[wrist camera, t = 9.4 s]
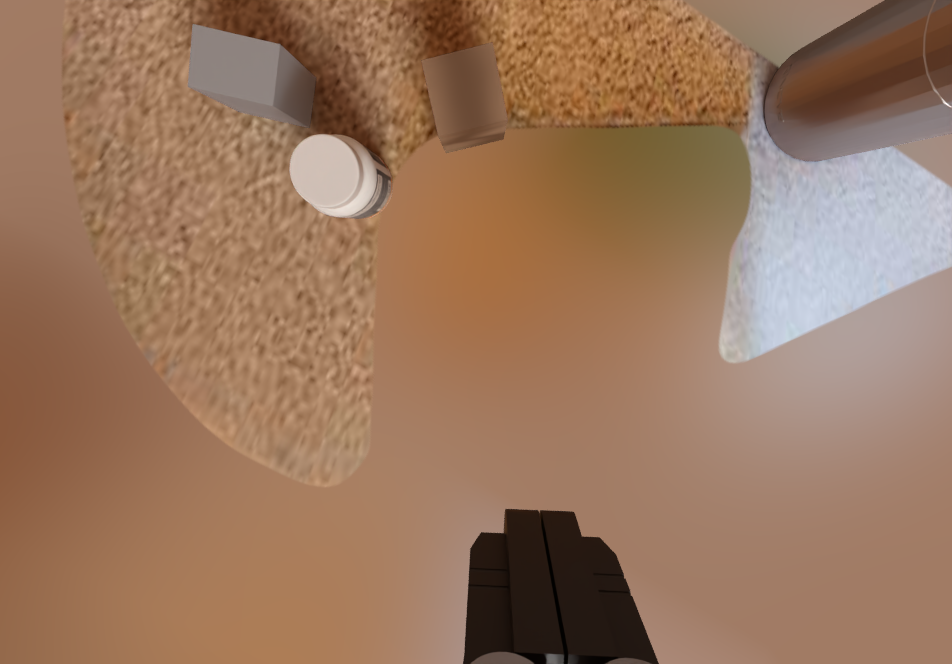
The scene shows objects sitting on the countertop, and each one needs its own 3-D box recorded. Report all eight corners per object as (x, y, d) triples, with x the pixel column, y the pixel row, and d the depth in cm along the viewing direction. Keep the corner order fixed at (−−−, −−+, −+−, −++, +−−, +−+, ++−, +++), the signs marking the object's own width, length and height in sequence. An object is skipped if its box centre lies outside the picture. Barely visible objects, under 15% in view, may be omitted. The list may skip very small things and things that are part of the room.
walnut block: (490, 76, 38) (492, 42, 31) (503, 139, 39) (507, 119, 32) (432, 91, 38) (421, 60, 32) (445, 153, 39) (438, 136, 33)
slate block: (316, 77, 38) (280, 44, 31) (309, 128, 39) (272, 106, 32) (244, 61, 38) (192, 23, 31) (239, 112, 39) (187, 86, 32)
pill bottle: (316, 170, 40) (263, 150, 30) (374, 138, 39) (338, 107, 29) (349, 230, 41) (308, 230, 31) (406, 200, 40) (382, 190, 31)
